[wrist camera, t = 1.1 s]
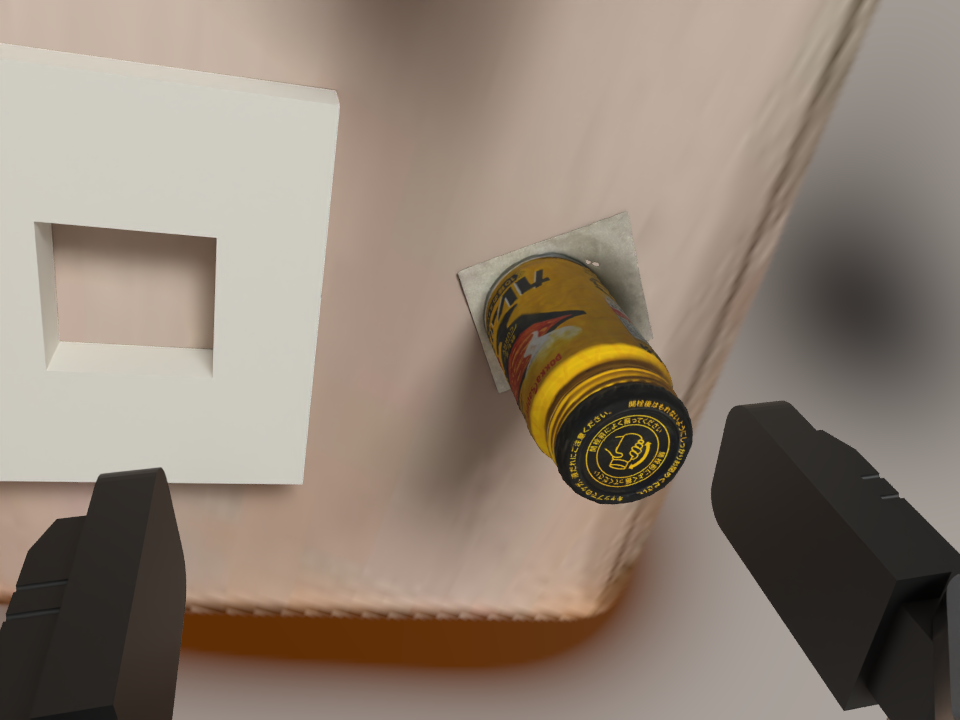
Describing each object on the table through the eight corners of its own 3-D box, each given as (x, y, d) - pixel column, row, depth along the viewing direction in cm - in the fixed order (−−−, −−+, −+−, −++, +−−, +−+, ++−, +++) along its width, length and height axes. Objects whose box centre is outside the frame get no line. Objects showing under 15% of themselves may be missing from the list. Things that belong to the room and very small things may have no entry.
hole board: (-275, 440, 35) (-311, 477, 32) (-420, -17, 26) (-481, -8, 24) (301, 453, 41) (302, 484, 39) (335, 90, 33) (340, 105, 30)
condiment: (456, 270, 38) (521, 415, 28) (626, 209, 38) (751, 330, 28) (497, 391, 42) (567, 556, 32) (650, 335, 42) (768, 480, 32)
